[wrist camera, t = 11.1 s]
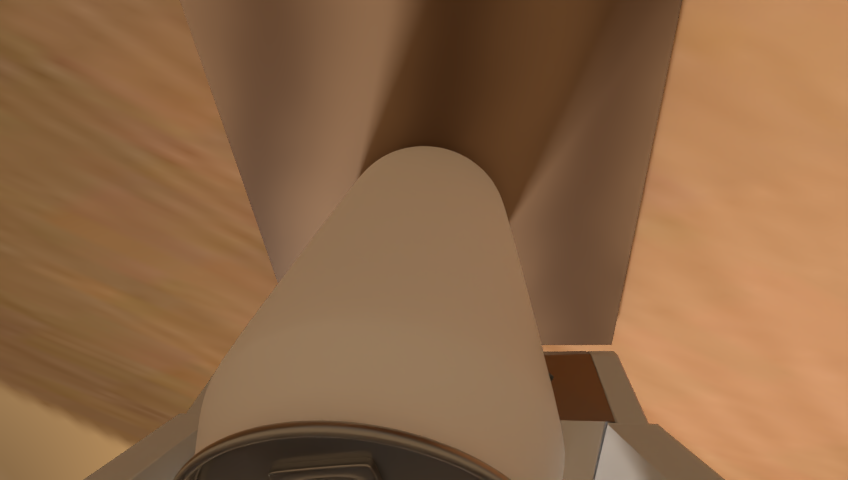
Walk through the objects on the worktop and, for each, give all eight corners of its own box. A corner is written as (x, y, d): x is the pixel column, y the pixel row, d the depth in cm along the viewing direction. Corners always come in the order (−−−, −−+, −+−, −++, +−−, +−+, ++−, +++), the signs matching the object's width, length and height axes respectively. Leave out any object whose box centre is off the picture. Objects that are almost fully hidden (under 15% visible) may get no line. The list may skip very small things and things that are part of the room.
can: (376, 296, 18) (255, 657, 7) (327, 163, 15) (27, 433, 5) (516, 272, 17) (609, 662, 6) (489, 124, 14) (574, 366, 4)
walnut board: (678, -61, 12) (695, -66, 11) (605, 330, 20) (611, 344, 19) (196, -2, 14) (178, -3, 13) (306, 332, 22) (299, 345, 21)
